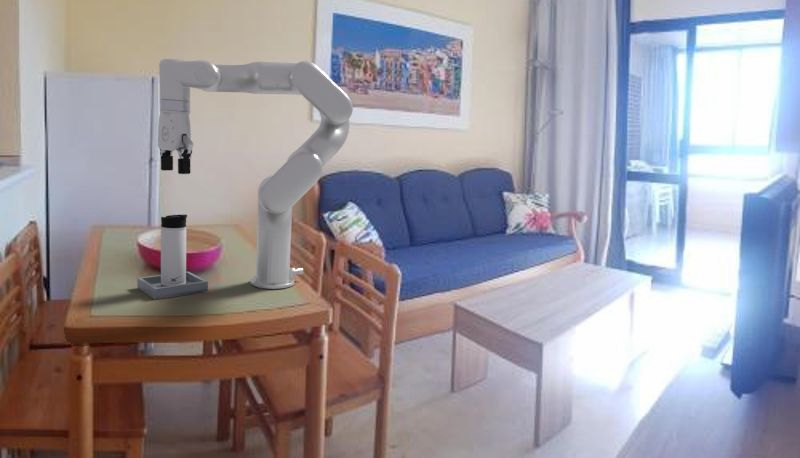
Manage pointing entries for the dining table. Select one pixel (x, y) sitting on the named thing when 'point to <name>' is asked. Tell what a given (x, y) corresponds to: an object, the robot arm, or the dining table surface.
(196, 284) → the tray
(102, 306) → the dining table surface
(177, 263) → the travel mug
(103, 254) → the dining table surface
